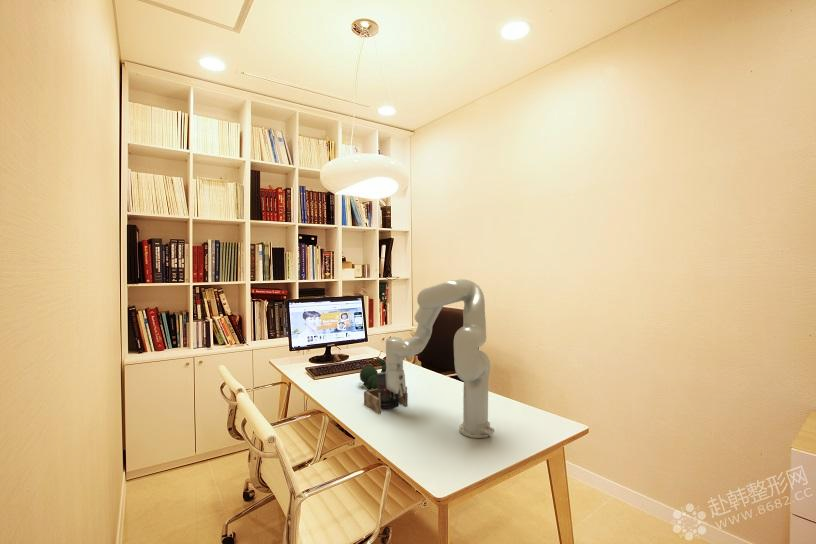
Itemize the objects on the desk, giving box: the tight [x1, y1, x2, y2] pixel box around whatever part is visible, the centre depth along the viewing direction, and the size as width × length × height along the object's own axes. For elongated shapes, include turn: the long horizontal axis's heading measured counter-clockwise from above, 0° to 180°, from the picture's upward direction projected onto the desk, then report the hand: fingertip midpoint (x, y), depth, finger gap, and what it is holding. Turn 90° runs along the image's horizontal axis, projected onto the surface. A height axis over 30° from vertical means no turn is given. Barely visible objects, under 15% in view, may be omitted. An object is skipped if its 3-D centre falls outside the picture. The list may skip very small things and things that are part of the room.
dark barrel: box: [376, 371, 392, 409], centre depth 171 cm, size 8×8×15 cm
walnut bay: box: [363, 386, 409, 415], centre depth 172 cm, size 13×15×9 cm
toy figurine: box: [359, 358, 386, 391], centre depth 193 cm, size 9×19×25 cm
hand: (394, 406), depth 165 cm, fingers closed
